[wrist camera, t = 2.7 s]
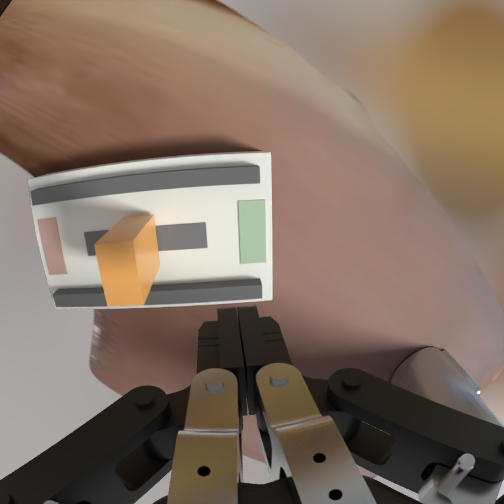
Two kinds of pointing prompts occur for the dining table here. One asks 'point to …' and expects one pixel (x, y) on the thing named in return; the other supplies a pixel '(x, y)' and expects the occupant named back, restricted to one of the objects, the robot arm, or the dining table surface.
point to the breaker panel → (163, 225)
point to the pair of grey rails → (148, 183)
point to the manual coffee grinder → (4, 5)
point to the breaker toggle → (128, 260)
